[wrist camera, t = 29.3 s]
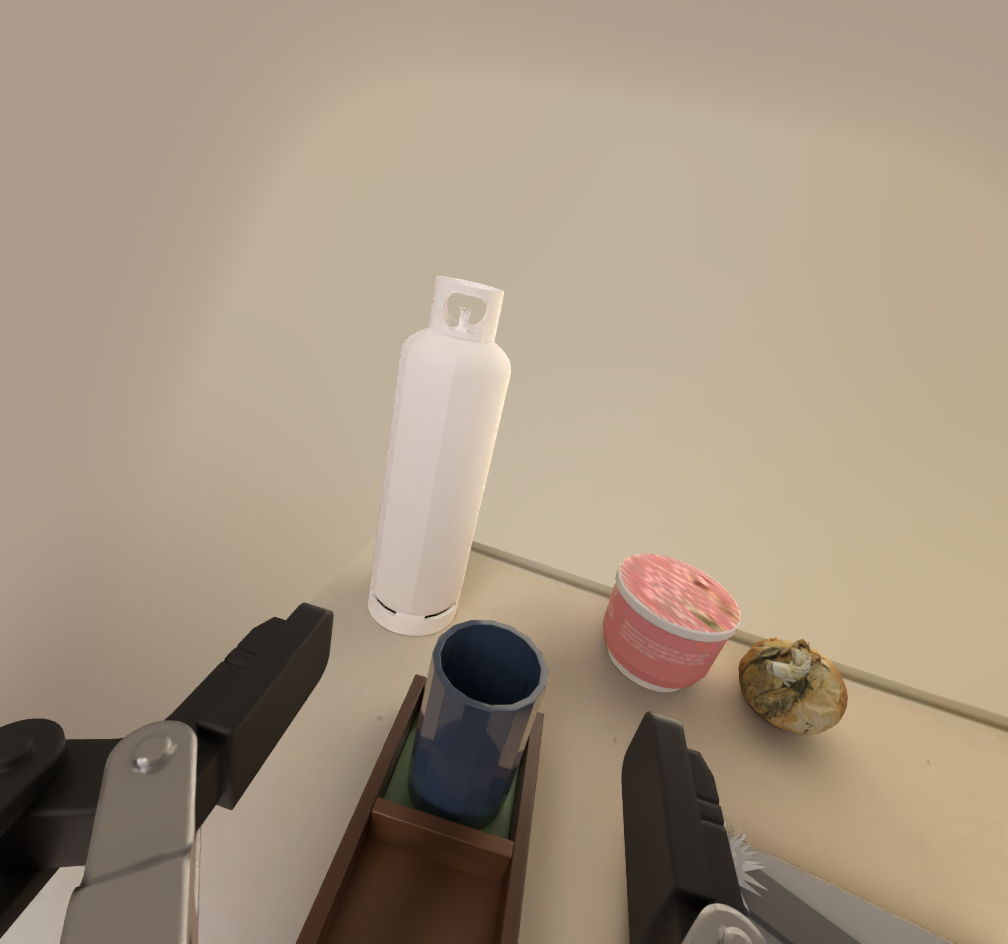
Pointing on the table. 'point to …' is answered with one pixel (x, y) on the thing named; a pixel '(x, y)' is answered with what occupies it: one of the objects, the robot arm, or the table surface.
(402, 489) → the bottle
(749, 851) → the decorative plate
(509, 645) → the cup
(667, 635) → the container
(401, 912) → the holder
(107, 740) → the robot arm
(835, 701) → the onion
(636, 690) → the table surface
